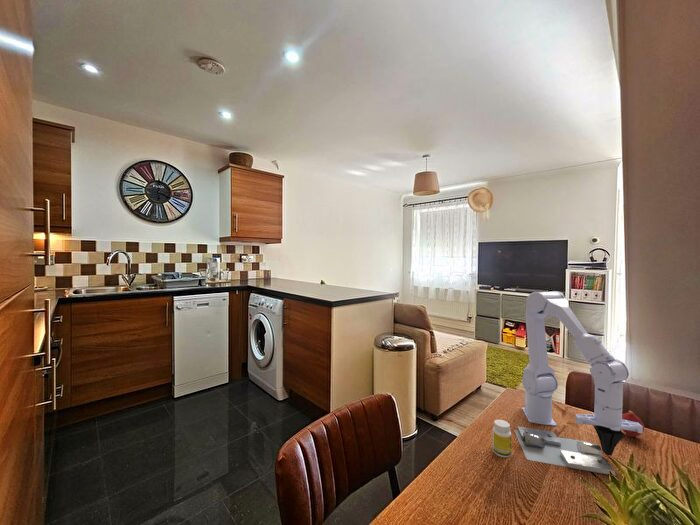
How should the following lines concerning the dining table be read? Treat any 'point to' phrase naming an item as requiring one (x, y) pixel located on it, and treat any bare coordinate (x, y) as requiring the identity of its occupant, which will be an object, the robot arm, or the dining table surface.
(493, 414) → the dining table surface
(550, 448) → the mat
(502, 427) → the supplement bottle
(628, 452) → the dining table surface
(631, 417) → the onion
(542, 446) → the fixed leaf
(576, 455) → the loose leaf
